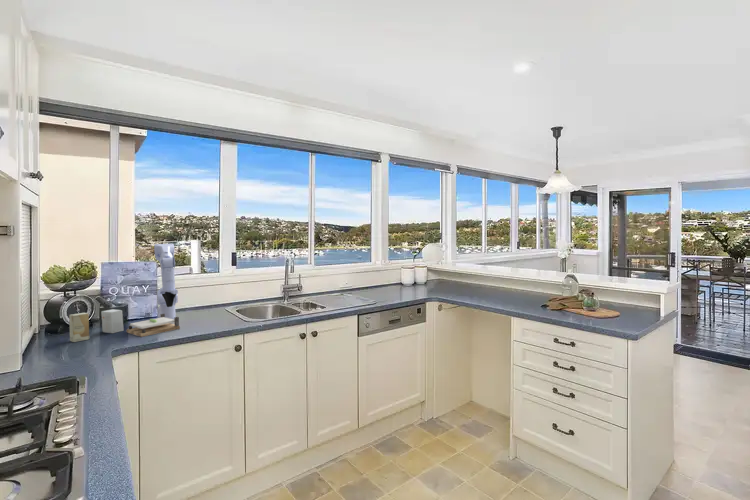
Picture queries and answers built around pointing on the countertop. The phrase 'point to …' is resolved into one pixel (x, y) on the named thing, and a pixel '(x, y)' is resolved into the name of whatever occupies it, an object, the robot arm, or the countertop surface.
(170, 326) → the oak base
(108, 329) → the small box
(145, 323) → the levelling plate
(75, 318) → the skincare box
